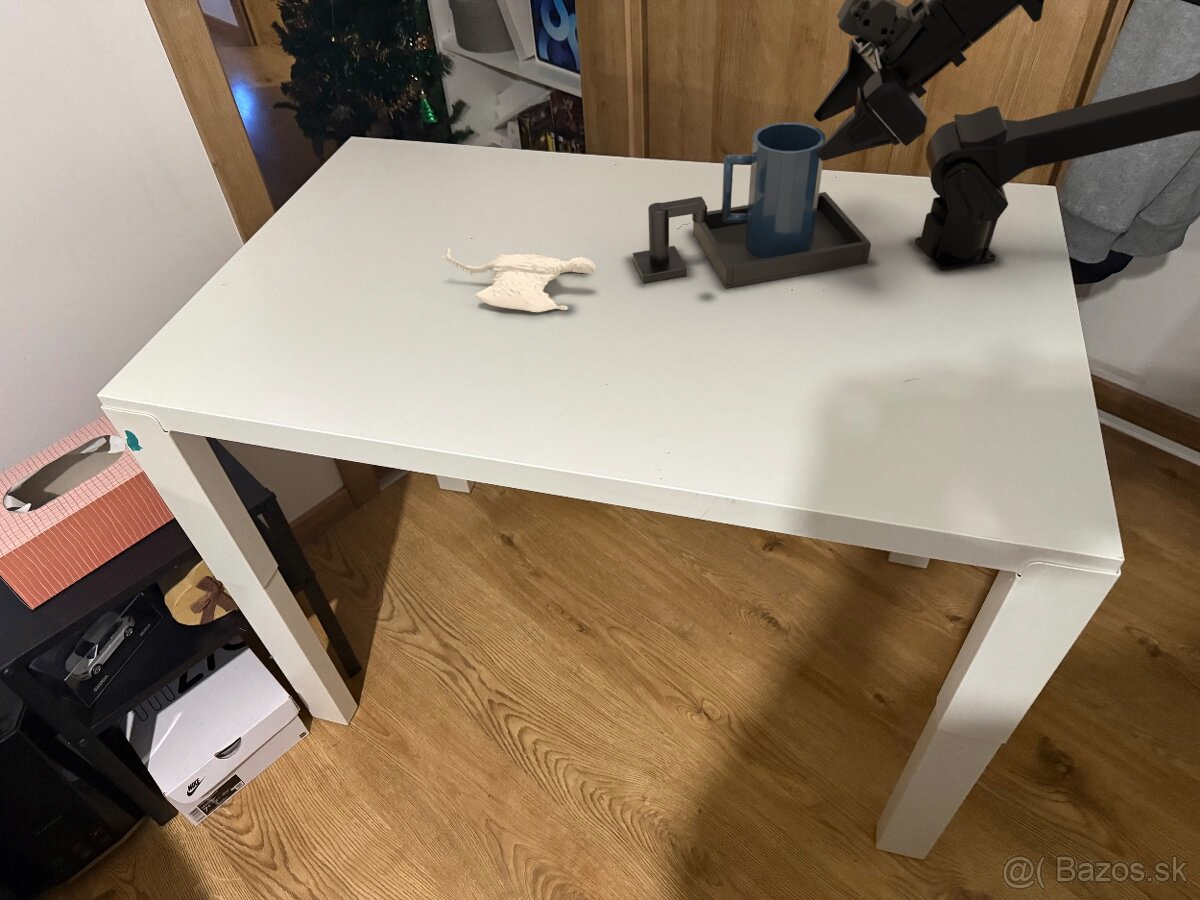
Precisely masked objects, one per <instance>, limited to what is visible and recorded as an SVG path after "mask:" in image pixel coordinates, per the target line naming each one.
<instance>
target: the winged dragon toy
mask: <svg viewBox="0 0 1200 900" xmlns="http://www.w3.org/2000/svg"><path fill="white" fill-rule="evenodd" d="M450 251H451V247H449V248H448V250H447V251H446V255H443V254H442V255H441V257H442V258H444V259H445V260H447V262H449V263H450V264H451V262H452V265H453V267H455V266H456V269H458V267H459V269H462V271H466V273H468V274H469V273H470V276H473V274H474V275H480V274H484V273H486V272H488V271H491V272H492V273H493V271H494V276H493V277H492V281H491V282H492V284H491V285H490V286H489V285H488V286H487V288H484V289H482V290H480V291H478V292H476V293H475V297H477V299H479V300H480V301H482V302H484V303H485V304H487V305H491V306H492V307H493V306H494V307H499V308H504V309H513V310H522V311H527V312H532V313H541V312H547V311H551V310H561V311H568V310H569V309H570V308H569V307H568V306H567V305H565V304H560V305H558V304H556V302H555V300H554V299H552V298H550V295H549V293H547V292H544V289H545V287H546V285H548V284H549V282H550V281H552V280H555V279H557V278H558V277H559V276H560V275H561V274H562V273H569V272H572V273H578V274H591V273H593V272H594V271H595V270H596V269H597V267H596V265H595V264H594V262H593V261H592V260H591V259H589V258H587V257H580V256H576V257H572V258H571V259H570V260H563V259H560V258H558V257H551V256H542V255H539V254H531V253H526V254H523V253H522V254H519V253H514V254H502V253H501V254H500V253H499V254H498V256H499V257H497V258H494V259H492V260H491V261H489V262H487V263H485V264H484V265H481V266H474V265H467V264H466V263H465V264H464V263H462V262H460V261H457V260H456V259H454V258H453V257H452V254H451V253H450Z"/></svg>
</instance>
